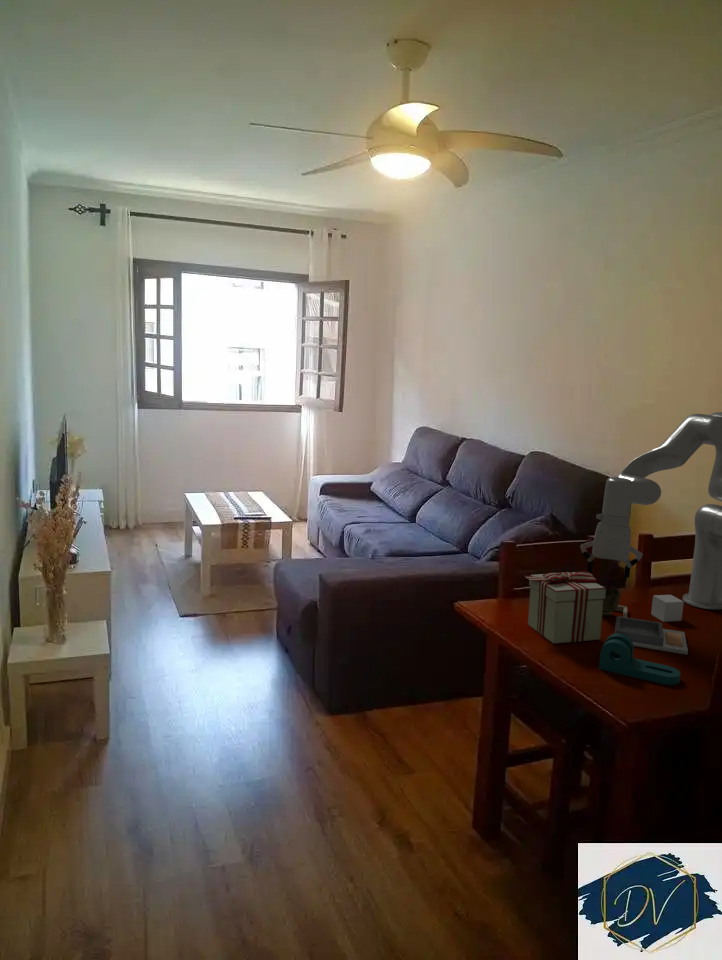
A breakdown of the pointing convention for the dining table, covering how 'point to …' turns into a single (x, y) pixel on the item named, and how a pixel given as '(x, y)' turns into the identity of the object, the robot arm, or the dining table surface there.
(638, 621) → the grey flat rectangular tray
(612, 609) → the cup
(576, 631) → the gift box
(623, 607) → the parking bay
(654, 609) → the white cube
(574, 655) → the dining table surface
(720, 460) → the robot arm
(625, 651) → the bracket
